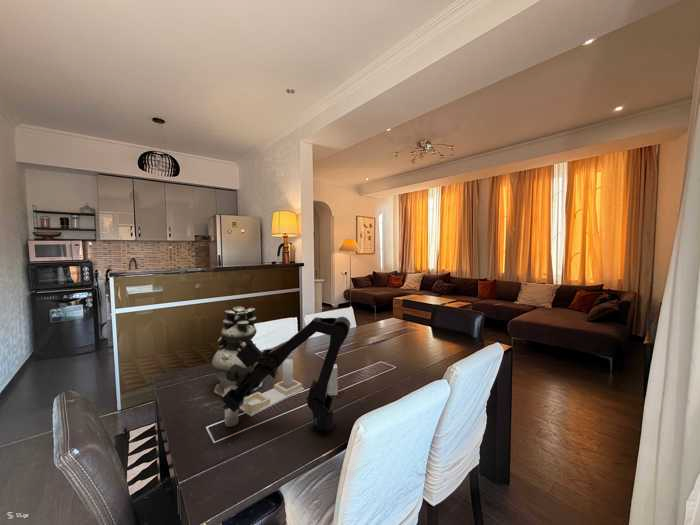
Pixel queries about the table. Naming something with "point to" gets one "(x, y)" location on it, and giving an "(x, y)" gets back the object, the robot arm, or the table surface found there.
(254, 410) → the white oblong stand
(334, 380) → the skincare box
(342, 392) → the table surface
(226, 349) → the decorative urn
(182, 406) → the table surface
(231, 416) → the clear drinking glass
